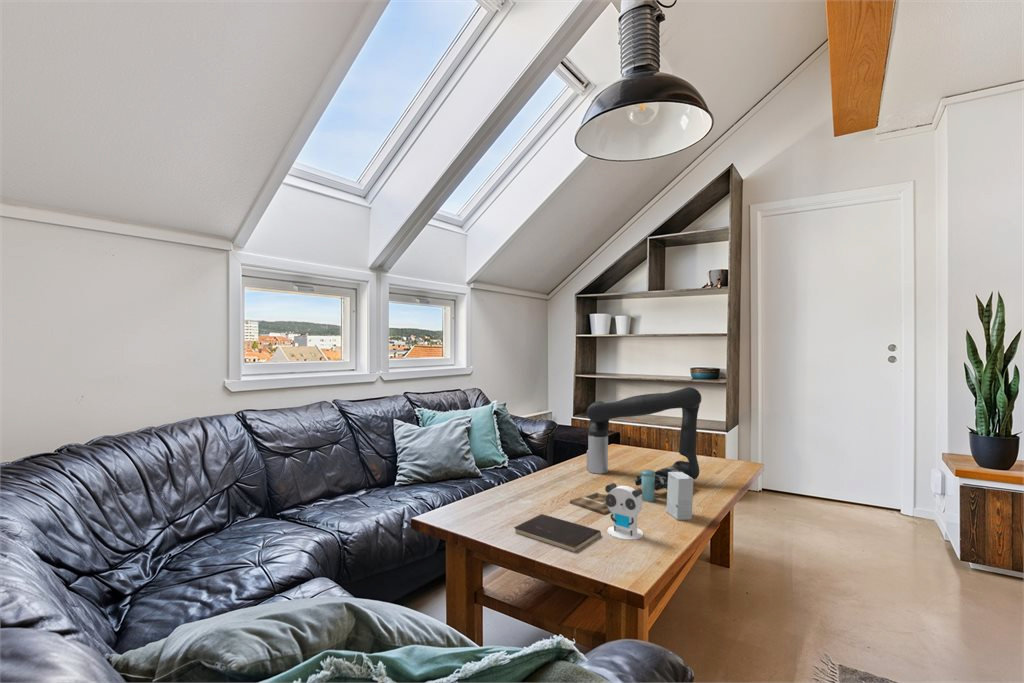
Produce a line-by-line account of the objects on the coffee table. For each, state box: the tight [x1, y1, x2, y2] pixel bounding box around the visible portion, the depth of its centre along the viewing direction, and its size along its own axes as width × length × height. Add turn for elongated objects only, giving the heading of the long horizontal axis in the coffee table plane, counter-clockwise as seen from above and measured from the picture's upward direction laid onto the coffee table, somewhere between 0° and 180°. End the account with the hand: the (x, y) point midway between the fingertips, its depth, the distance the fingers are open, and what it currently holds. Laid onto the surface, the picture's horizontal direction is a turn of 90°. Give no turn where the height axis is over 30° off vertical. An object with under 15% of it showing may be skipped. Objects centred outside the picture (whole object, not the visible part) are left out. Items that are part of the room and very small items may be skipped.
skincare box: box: [666, 472, 694, 521], centre depth 170 cm, size 8×6×15 cm
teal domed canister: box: [640, 469, 656, 503], centre depth 187 cm, size 5×5×11 cm
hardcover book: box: [513, 513, 602, 553], centre depth 154 cm, size 16×23×2 cm
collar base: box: [569, 491, 611, 515], centre depth 182 cm, size 16×16×2 cm
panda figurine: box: [604, 482, 644, 541], centre depth 155 cm, size 12×11×15 cm
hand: (645, 485), depth 186 cm, fingers open, 8 cm apart
